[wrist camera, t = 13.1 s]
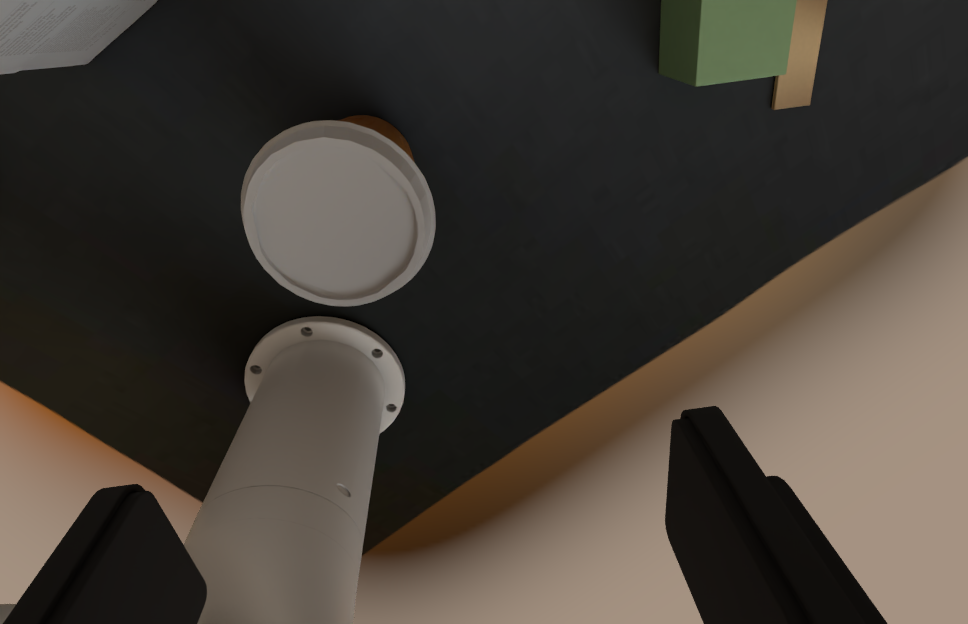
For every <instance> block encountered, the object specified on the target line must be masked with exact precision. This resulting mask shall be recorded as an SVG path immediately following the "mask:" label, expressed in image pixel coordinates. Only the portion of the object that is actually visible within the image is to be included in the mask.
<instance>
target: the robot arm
mask: <svg viewBox="0 0 968 624" xmlns="http://www.w3.org/2000/svg"><path fill="white" fill-rule="evenodd" d="M308 327H309V328H308ZM244 382H245V388H246V394H247V396H248V398H249V401H250V406H249V408H248V410H247V412H246V414H245V416H244V418H243V420H242V422H241V424H240V426H239V429H238V431H237V433H236V435H235V437H234V439H233V441H232V443H231V445H230V447H229V450H228V452H227V454H226V456H225V458H224V460H223V462H222V464H221V466H220V468H219V470H218V473H217V475H216V477H215V479H214V481H213V483H212V485H211V487H210V489H209V491H208V494H207V496H206V498H205V500H204V502H203V504H202V506H201V508H200V510H199V512H198V515H197V517H196V519H195V521H194V523H193V525H192V528H191V530H190V532H189V534H188V536H187V539H186V541H185V543H184V545H183V543H182V542H181V540H180V538H179V537H178V535H177V533H176V532H175V530H174V528H173V527H172V525H171V523H170V522H169V520H168V518H167V517H166V515H165V513H164V512H163V510H162V509H161V507H160V505H159V503H158V502H157V500H156V498H155V497H154V495H153V494H152V493H151V492H149V491H145V490H144V489H143V488H142V486H140V485H138V484H132V485H124V486H117V487H109V488H103V489H101V490H99V491H97V492H96V493H95V494H94V495H93V496H92V498H91V499H90V501H89V502H88V504H87V505H86V506H85V508H84V509H83V511H82V512H81V513H80V515H79V516H78V518H77V519H76V521H75V522H74V523H73V525H72V526H71V528H70V529H69V530H68V532H67V533H66V535H65V536H64V537H63V539H62V540H61V542H60V543H59V545H58V546H57V547H56V549H55V550H54V552H53V553H52V554H51V556H50V557H49V559H48V560H47V561H46V563H45V564H44V566H43V567H42V569H41V570H40V571H39V573H38V574H37V576H36V577H35V578H34V580H33V581H32V583H31V584H30V586H29V587H28V588H27V590H26V591H25V593H24V594H23V596H22V597H21V598H20V600H19V601H18V603H17V604H0V624H353V620H354V609H355V600H356V592H357V584H358V577H359V569H360V563H361V556H362V547H363V541H364V534H365V527H366V520H367V513H368V507H369V500H370V493H371V486H372V480H373V473H374V466H375V459H376V452H377V446H378V439H379V434H380V433H381V432H383V431H384V430H385V429H386V428H387V427H388V426H389V425H390V424H391V423H392V422H393V421H394V420H395V418H396V417H397V415H398V414H399V412H400V409H401V406H402V404H403V400H404V393H405V376H404V372H403V368H402V365H401V363H400V361H399V359H398V357H397V355H396V354H395V352H394V351H393V350H392V349H391V347H390V346H389V345H388V344H387V343H386V342H385V341H384V340H383V339H382V338H381V337H379V336H378V335H377V334H375V333H374V332H372V331H371V330H369V329H367V328H366V327H364V326H361V325H359V324H356V323H354V322H352V321H349V320H344V319H340V318H336V317H324V316H313V317H303V318H299V319H295V320H291V321H288V322H286V323H284V324H281V325H279V326H277V327H275V328H274V329H272V330H271V331H270V332H268V333H267V334H266V335H265V336H263V338H262V339H261V340H260V341H259V342H258V344H257V345H256V346H255V348H254V350H253V352H252V353H251V355H250V357H249V359H248V362H247V364H246V368H245V378H244ZM667 486H668V487H667V501H666V515H665V525H666V530H667V535H668V538H669V541H670V544H671V546H672V548H673V551H674V553H675V556H676V558H677V560H678V563H679V565H680V568H681V570H682V572H683V575H684V577H685V580H686V582H687V584H688V587H689V589H690V591H691V594H692V596H693V599H694V601H695V604H696V606H697V608H698V611H699V613H700V616H701V618H702V620H703V623H704V624H887V622H886V621H885V620H884V618H883V617H882V615H881V614H880V613H879V611H878V610H877V608H876V607H875V606H874V604H873V603H872V602H871V600H870V599H869V597H868V596H867V594H866V593H865V591H864V590H863V589H862V587H861V586H860V584H859V583H858V582H857V580H856V579H855V578H854V576H853V575H852V574H851V572H850V571H849V569H848V568H847V566H846V565H845V563H844V562H843V561H842V559H841V558H840V556H839V555H838V554H837V552H836V551H835V549H834V548H833V547H832V545H831V544H830V542H829V541H828V540H827V538H826V537H825V535H824V534H823V533H822V531H821V530H820V528H819V527H818V525H817V524H816V523H815V521H814V520H813V519H812V517H811V516H810V514H809V513H808V511H807V510H806V509H805V507H804V506H803V504H802V503H801V502H800V500H799V499H798V497H797V496H796V495H795V493H794V492H793V490H792V489H791V488H790V487H789V485H788V484H787V483H786V482H785V481H784V480H783V479H781V478H780V477H778V476H767V477H766V476H765V475H764V473H763V472H762V470H761V469H760V467H759V466H758V464H757V463H756V461H755V460H754V458H753V457H752V455H751V454H750V452H749V451H748V450H747V448H746V447H745V445H744V444H743V442H742V441H741V439H740V438H739V436H738V435H737V433H736V432H735V430H734V429H733V427H732V426H731V424H730V423H729V421H728V420H727V418H726V417H725V416H724V414H723V412H722V411H721V410H720V409H719V408H718V407H716V406H711V407H704V408H697V409H689V410H684V411H683V412H682V414H681V419H677V420H673V422H672V428H671V443H670V456H669V471H668V485H667Z"/></svg>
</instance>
